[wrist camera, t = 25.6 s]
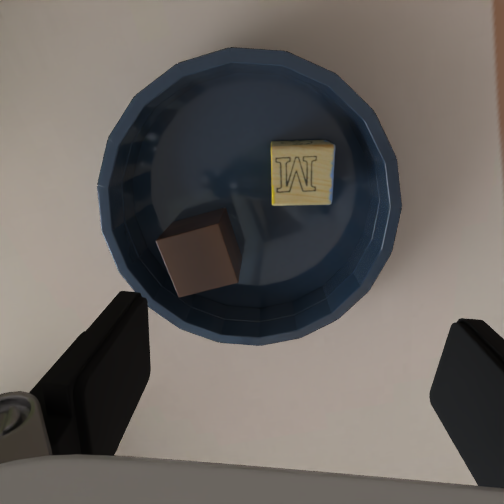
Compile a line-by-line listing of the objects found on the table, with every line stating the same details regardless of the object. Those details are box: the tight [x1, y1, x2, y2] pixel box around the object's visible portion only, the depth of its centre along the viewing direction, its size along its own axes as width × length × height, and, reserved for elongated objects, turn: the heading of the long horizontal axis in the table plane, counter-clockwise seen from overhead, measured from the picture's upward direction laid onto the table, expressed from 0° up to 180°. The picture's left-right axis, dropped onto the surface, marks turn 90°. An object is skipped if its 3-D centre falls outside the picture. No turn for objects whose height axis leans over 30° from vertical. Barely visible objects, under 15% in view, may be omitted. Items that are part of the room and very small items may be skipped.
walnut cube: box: [156, 208, 242, 297], centre depth 20 cm, size 4×4×4 cm
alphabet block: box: [271, 140, 335, 206], centre depth 18 cm, size 3×3×3 cm
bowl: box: [97, 47, 402, 346], centre depth 19 cm, size 15×15×4 cm
